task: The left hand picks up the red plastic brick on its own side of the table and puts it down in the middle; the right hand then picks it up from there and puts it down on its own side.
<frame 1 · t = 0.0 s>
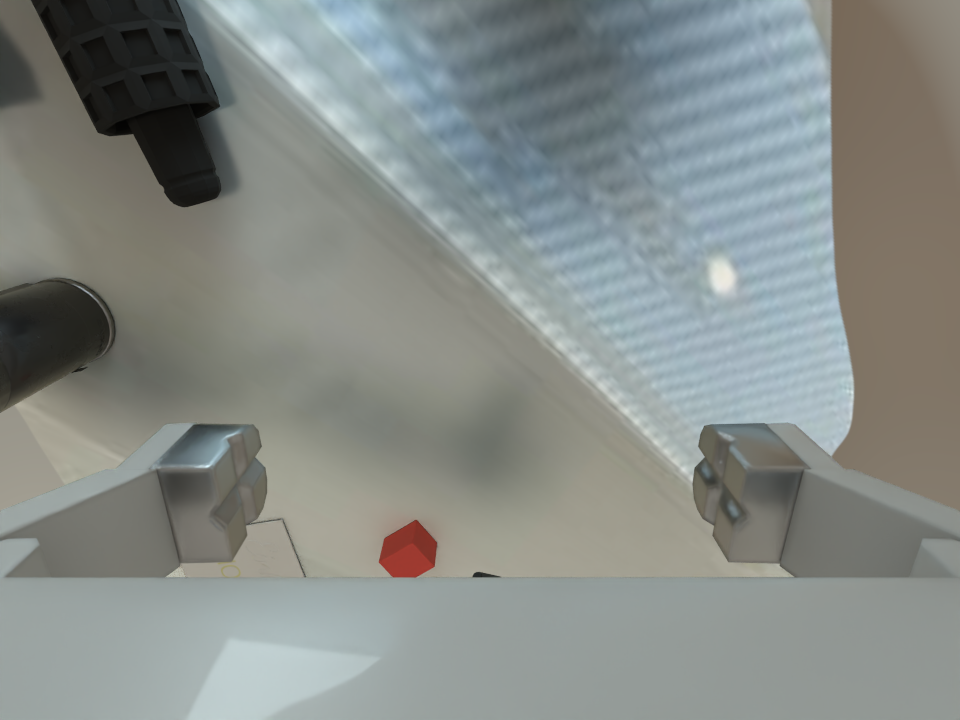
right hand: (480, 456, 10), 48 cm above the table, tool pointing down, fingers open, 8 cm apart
invitation card: (254, 591, 73), on the table
brick: (410, 540, 70), on the table
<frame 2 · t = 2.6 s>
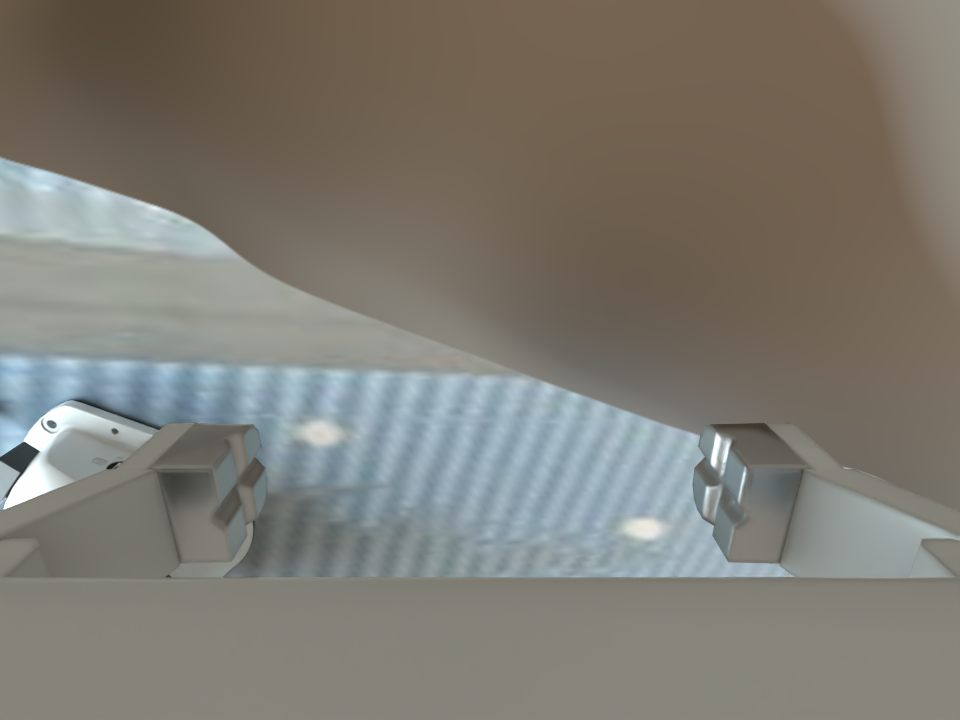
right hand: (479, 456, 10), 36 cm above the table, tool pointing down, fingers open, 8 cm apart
when the left hand's fingers open (2 cm above the table, at t = 6.7 s): brick drops 1 cm, on the table.
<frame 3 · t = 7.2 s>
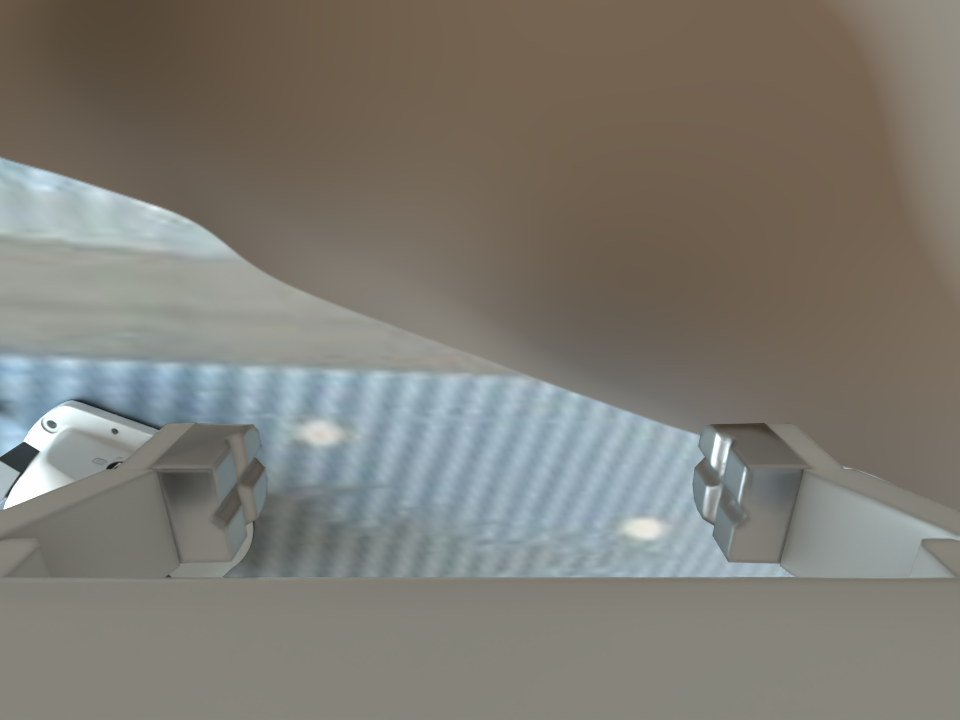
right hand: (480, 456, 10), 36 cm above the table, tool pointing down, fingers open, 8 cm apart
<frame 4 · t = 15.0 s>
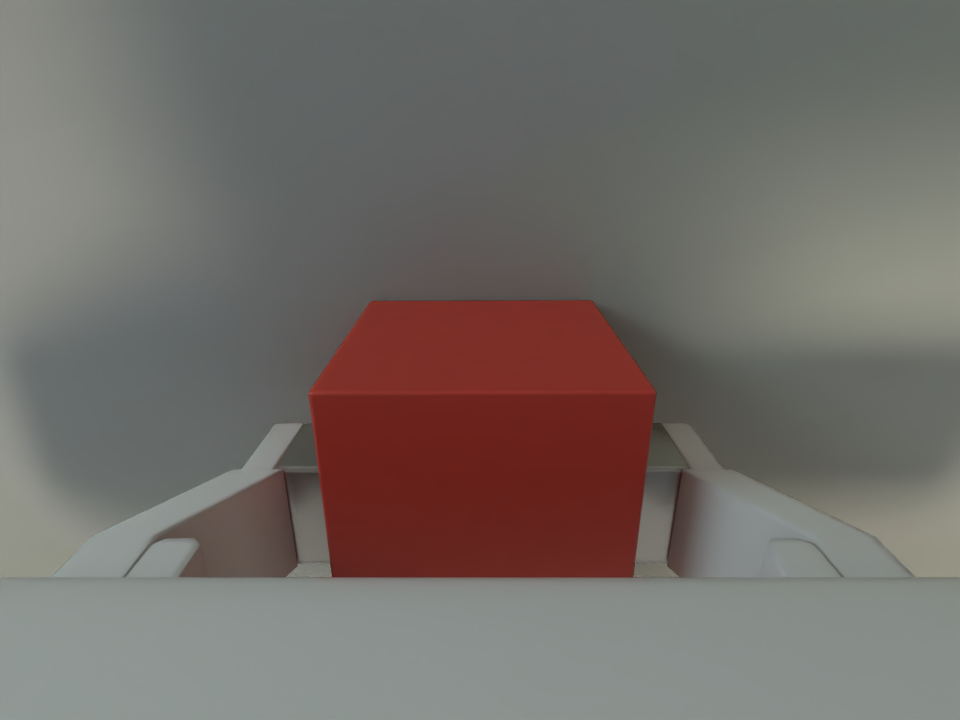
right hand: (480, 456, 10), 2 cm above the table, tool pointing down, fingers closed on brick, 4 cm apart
brick: (481, 415, 12), on the table, touching right hand
when the right hand's fingers open (3 cm above the table, at t = 22.5 s): brick drops 1 cm, on the table.
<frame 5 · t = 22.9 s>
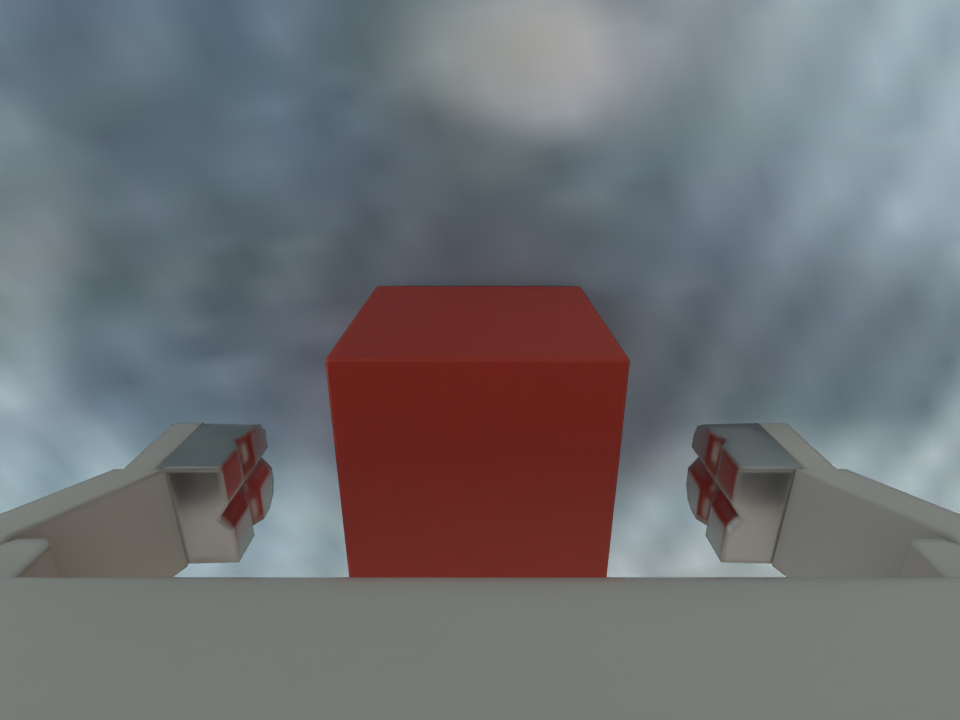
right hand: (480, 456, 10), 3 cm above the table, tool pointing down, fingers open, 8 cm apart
brick: (478, 393, 13), on the table
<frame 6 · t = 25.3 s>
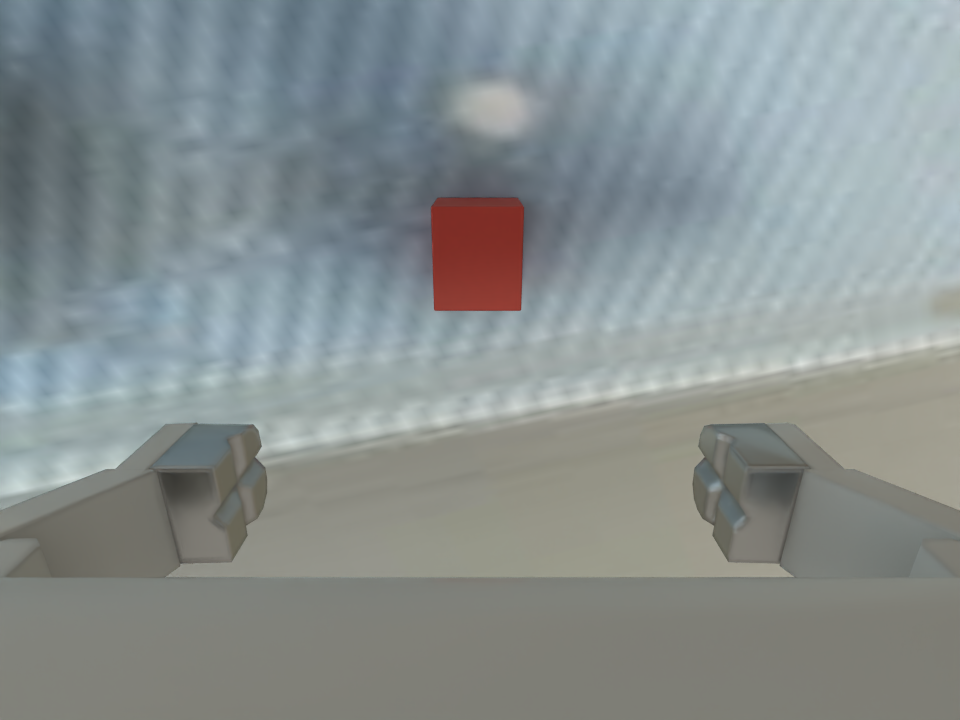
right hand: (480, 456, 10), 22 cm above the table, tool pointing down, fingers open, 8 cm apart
brick: (477, 245, 31), on the table
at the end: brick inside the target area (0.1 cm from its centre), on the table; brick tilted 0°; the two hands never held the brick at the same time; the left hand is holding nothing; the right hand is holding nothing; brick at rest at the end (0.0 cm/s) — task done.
